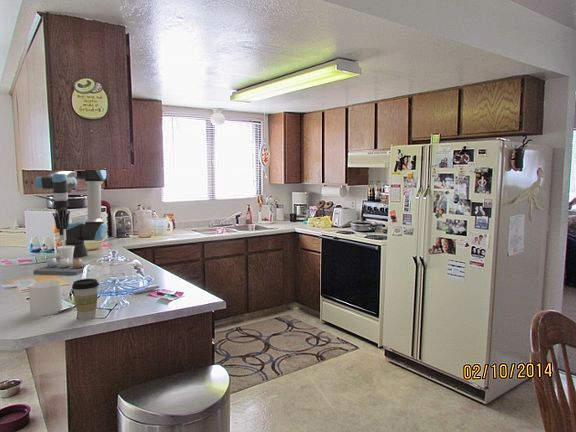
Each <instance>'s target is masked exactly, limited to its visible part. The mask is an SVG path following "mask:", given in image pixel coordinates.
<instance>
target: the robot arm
mask: <svg viewBox="0 0 576 432" xmlns="http://www.w3.org/2000/svg"><path fill="white" fill-rule="evenodd" d="M106 179H107V169H106V170H85V171H60V170H59V171H55V172H53V173H50V174H47V175H45V176H42V175H41V176H36V177H35V179H34V186H35V188H36V189H37V190H52V193H53V195H52V196H53V208H55V209H54V210H55V212H53V213H52V216H53V219H54V224H55V228H56V229H57V230H59V240H60V241H64V243H65V245H64V246H75V247H74V252H73V258H81V257H85V256H88V250H87V248H86V244H85V241H86V242H87V241H88V242H89V241H91V242H92V241H93V242H94V241H95V242H97V241H103V240H104V239H106V236H107V231H108V226H107V224H106V223H104V220H103V219H102V185H103V183H104V180H106ZM78 180H84V183H85V184H86V186H87V187H86V188H87V197H86V198H87V219H86V220H85V221H84V222H85V223H84V222H83V221H76V222H70V223H69V221H70V214H71V211H70V210H68V207H69V193H68V190H72V189H75V188H77V187H78Z"/></svg>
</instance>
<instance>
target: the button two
mask: <svg viewBox="0 0 576 432" xmlns="http://www.w3.org/2000/svg"><path fill="white" fill-rule="evenodd" d="M59 264H60V267H69V258H62V259H60V258H59Z"/></svg>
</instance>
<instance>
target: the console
mask: <svg viewBox="0 0 576 432" xmlns="http://www.w3.org/2000/svg"><path fill="white" fill-rule="evenodd" d="M56 265H57V266H55V267H47V265H45V266H43V267H40V268H38V269H34V270H33V274H34V275H59V276H60V275H61V276H64V275H65V276H78V275H80V274H83V273H84V272H83V269H84V267H85V266H86V265H87V264H86V263H85V264H84V263H82V267H78V268H73V263H72V264H69V267H60V263H56ZM82 272H83V273H82Z"/></svg>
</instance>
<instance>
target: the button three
mask: <svg viewBox="0 0 576 432" xmlns="http://www.w3.org/2000/svg"><path fill="white" fill-rule="evenodd" d="M82 262H83V259H82V258H79V257H75V258H73V260H72V264H73V268H78V267H82V264H83V263H82Z"/></svg>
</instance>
